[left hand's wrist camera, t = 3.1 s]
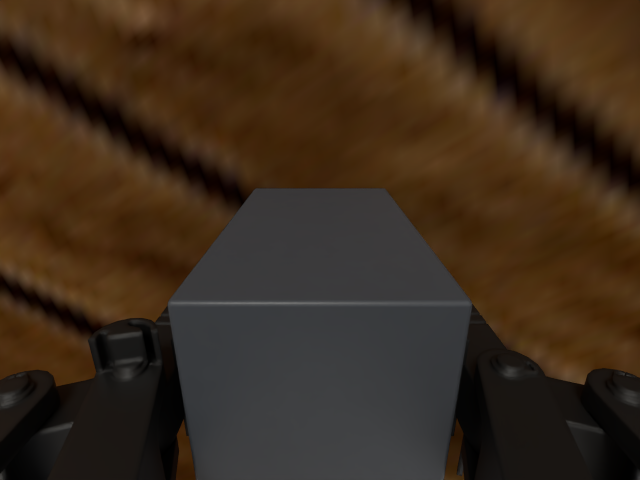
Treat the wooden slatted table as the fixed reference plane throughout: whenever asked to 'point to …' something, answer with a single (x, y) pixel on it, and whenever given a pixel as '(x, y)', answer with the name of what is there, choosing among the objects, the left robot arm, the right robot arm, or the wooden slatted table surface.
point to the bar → (319, 343)
